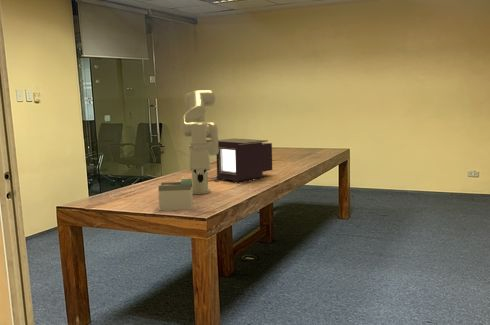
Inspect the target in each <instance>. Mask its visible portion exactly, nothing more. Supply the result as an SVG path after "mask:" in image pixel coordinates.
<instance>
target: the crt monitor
mask: <svg viewBox="0 0 490 325" xmlns="http://www.w3.org/2000/svg"><path fill="white" fill-rule="evenodd" d="M218 145H219V151H218V154H217V155H215V156H216V179H217V180H218V181H222V180H223V181H229V180H230V181H232V183H235V182H237V183H236V184H240V183H239V182H242V183H245V182H244V181H247V182H250V181H249V180H252V181H254V180H253V179H257V180H260V179H259V178H262V179H263V177H264V175H263V173H264V172H268V171H273V143H272V142H269V140H267V139H248V138H225V139H218ZM227 179H228V180H227Z"/></svg>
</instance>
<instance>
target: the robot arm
mask: <svg viewBox="0 0 490 325" xmlns="http://www.w3.org/2000/svg"><path fill="white" fill-rule="evenodd" d="M184 102H185V106H186V108H187V111H186V112H185V113H184V114H183V116H182V118H181V132H182V134H183V136H185V137H191V142H189V145H188V150H189V172H191V179H192V192H193V195H205V194H210V193H211V192H212V190H211V189H210V188H209V175H208V173H209V171H211V167H210V166H211V163H210V162H211V161H210V157H211V156H216V155H217V154H218V151H219V145H218V140H219V132H218V125H217V123H216V122H214V121H205V114H206V107H213V106H214V105H215V103H216V94H215V92H214V91H213V90H211V89H201V90H199V89H196V90H193V91H191V92H188V93H186V94H185V96H184ZM207 138H208V139H207Z"/></svg>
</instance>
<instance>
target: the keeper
mask: <svg viewBox="0 0 490 325" xmlns="http://www.w3.org/2000/svg"><path fill="white" fill-rule="evenodd" d="M179 182H180V185H190V184H191V182H192V178H182V179H181V180H180V181H179Z"/></svg>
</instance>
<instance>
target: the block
mask: <svg viewBox="0 0 490 325" xmlns="http://www.w3.org/2000/svg"><path fill="white" fill-rule="evenodd" d="M180 182H181V181H167V182H166V181H165V182H161V184H160V185H158V187H157V188H158V203H159V204H158V205H159V211H183V210H185V211H188V210H192V208H193V205H194V198H193V197H194V196H193V195H194V194H193V192H192V182H191V184H190V185H180ZM165 184H173V185H165Z"/></svg>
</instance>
